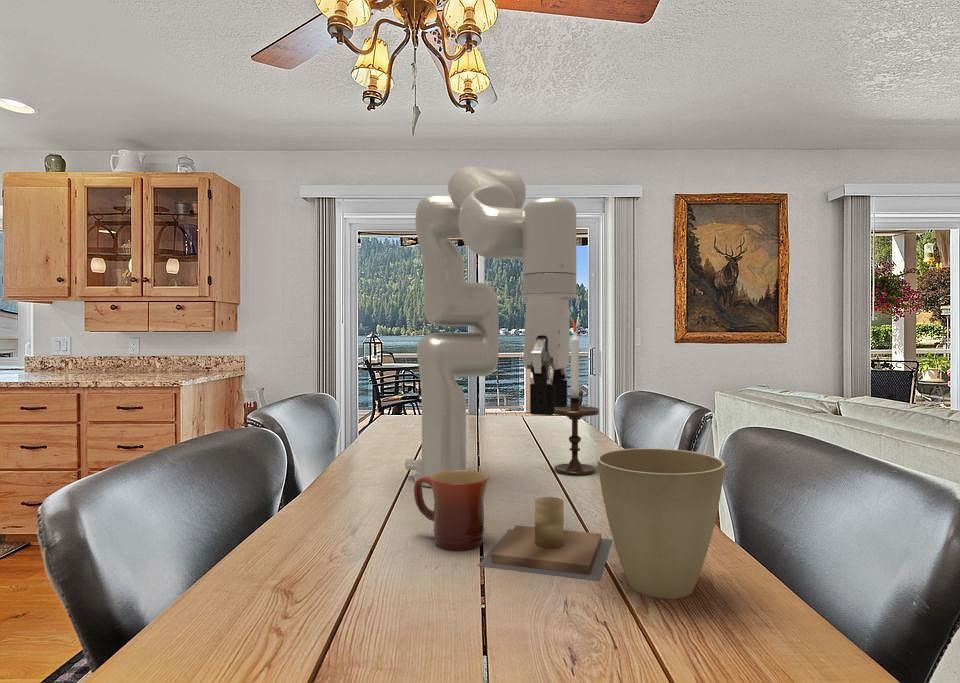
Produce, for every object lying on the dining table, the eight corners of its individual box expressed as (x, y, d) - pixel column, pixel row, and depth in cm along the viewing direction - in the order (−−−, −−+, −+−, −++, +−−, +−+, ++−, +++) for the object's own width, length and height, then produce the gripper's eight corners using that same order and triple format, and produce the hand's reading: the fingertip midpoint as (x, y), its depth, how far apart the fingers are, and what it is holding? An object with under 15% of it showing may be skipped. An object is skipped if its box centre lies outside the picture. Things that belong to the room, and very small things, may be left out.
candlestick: (542, 468, 140) (542, 318, 140) (581, 464, 145) (581, 319, 145) (567, 478, 131) (568, 317, 130) (608, 474, 135) (609, 318, 135)
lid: (491, 563, 81) (491, 509, 81) (516, 532, 93) (516, 486, 93) (589, 574, 77) (589, 518, 77) (601, 541, 89) (601, 493, 89)
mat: (477, 569, 80) (477, 565, 80) (509, 532, 95) (509, 529, 95) (599, 584, 75) (599, 580, 75) (612, 543, 90) (612, 539, 90)
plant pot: (629, 557, 84) (629, 443, 84) (740, 585, 75) (741, 457, 75) (574, 592, 73) (574, 460, 72) (698, 631, 63) (698, 479, 63)
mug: (498, 541, 91) (498, 473, 91) (470, 561, 83) (470, 486, 83) (431, 529, 96) (431, 465, 96) (399, 546, 88) (399, 477, 88)
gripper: (536, 293, 94) (536, 403, 94) (507, 284, 78) (507, 417, 78) (585, 292, 92) (585, 405, 92) (565, 282, 75) (565, 419, 75)
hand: (549, 410), depth 85 cm, fingers open, 9 cm apart
